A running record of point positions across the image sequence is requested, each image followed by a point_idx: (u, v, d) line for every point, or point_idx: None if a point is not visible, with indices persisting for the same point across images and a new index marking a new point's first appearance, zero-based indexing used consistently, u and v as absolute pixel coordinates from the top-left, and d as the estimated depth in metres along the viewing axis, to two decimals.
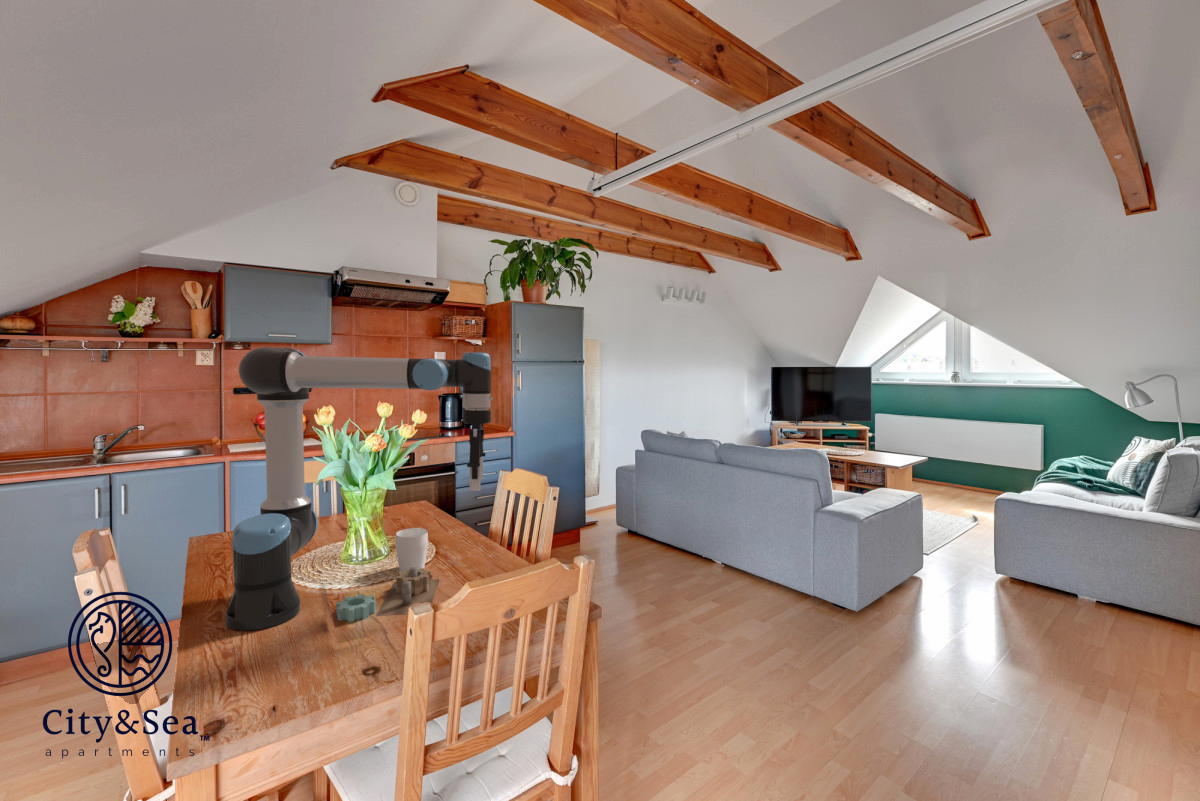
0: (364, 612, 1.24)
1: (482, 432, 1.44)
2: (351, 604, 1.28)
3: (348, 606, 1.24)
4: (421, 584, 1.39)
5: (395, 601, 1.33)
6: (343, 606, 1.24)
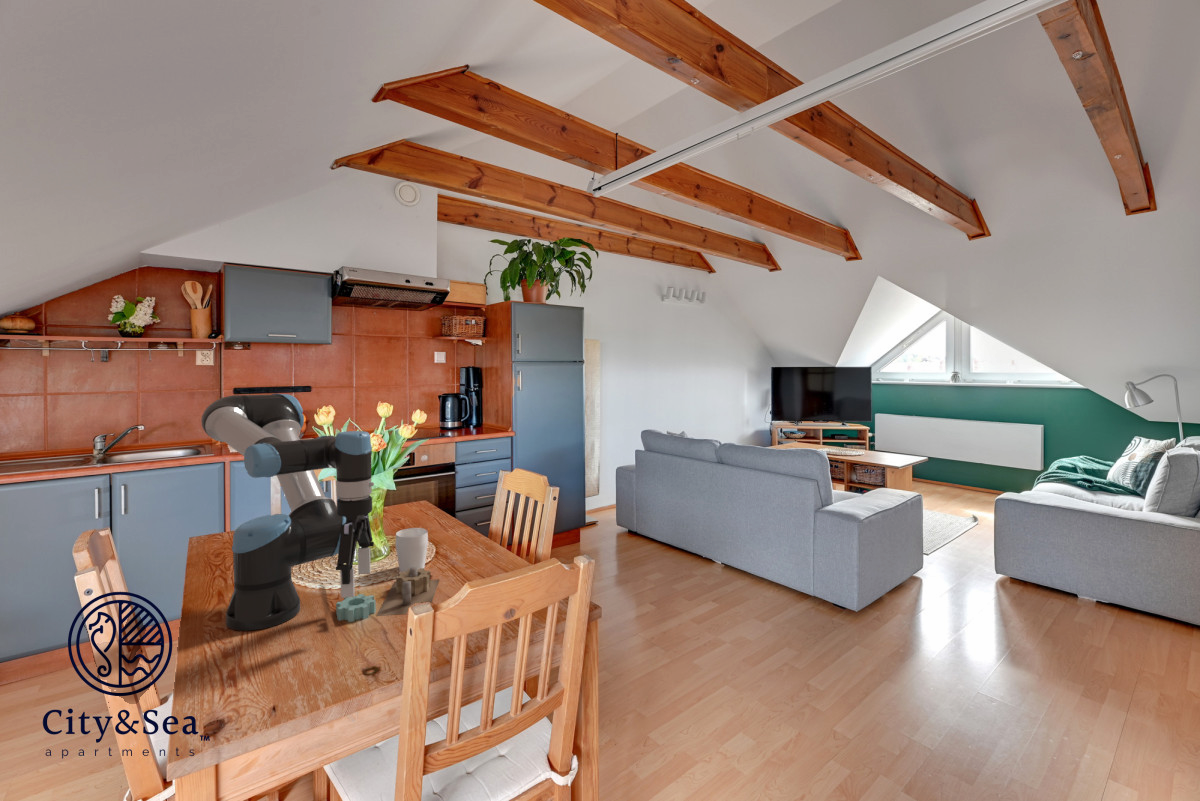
0: (364, 612, 1.24)
1: (360, 525, 1.23)
2: (351, 604, 1.28)
3: (348, 606, 1.24)
4: (421, 584, 1.39)
5: (395, 601, 1.33)
6: (343, 606, 1.24)
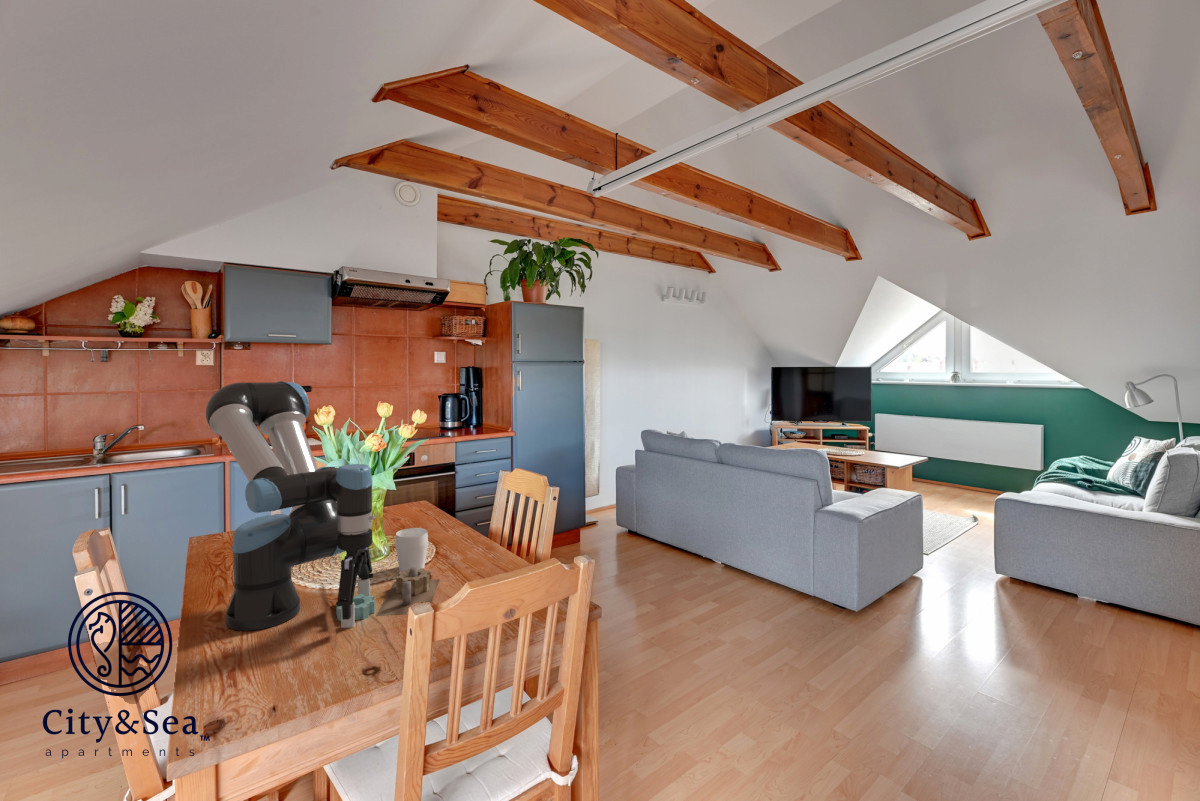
0: (364, 612, 1.24)
1: (360, 558, 1.24)
2: None
3: None
4: (421, 584, 1.39)
5: (395, 601, 1.33)
6: None
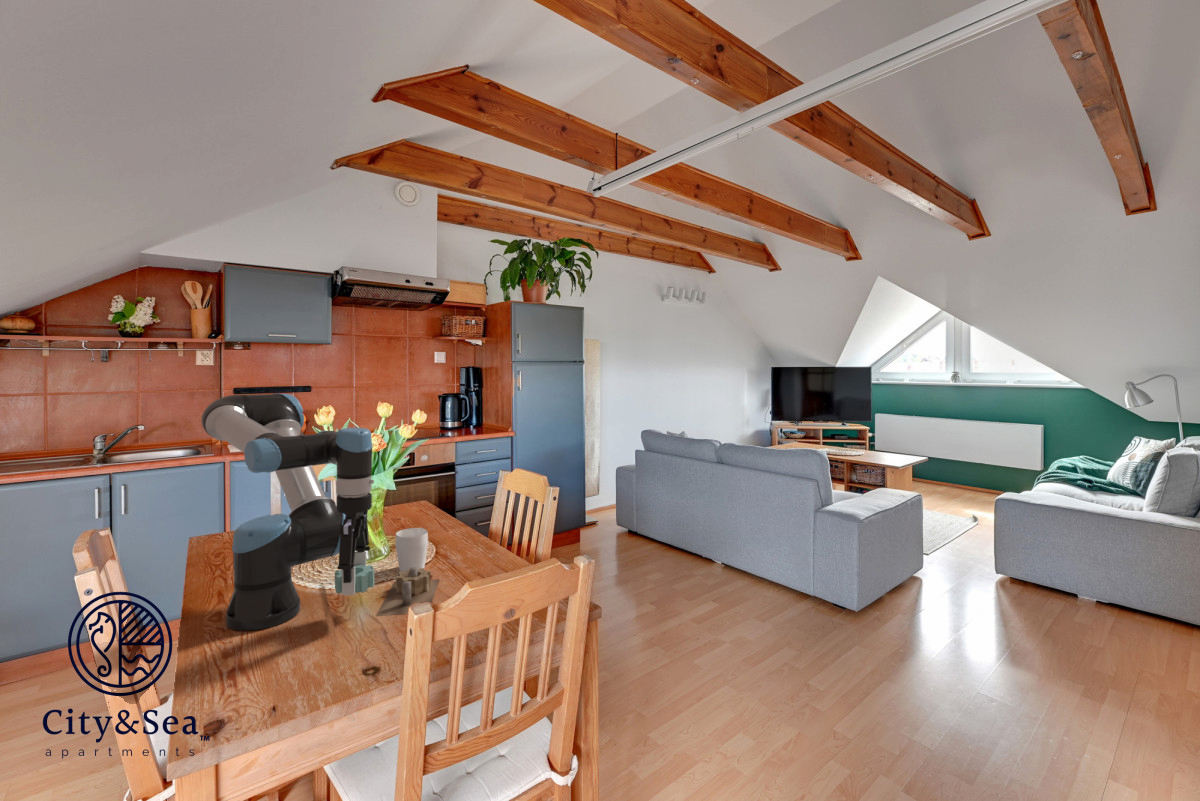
0: (363, 581, 1.24)
1: (359, 522, 1.24)
2: None
3: None
4: (421, 584, 1.39)
5: (395, 601, 1.33)
6: None
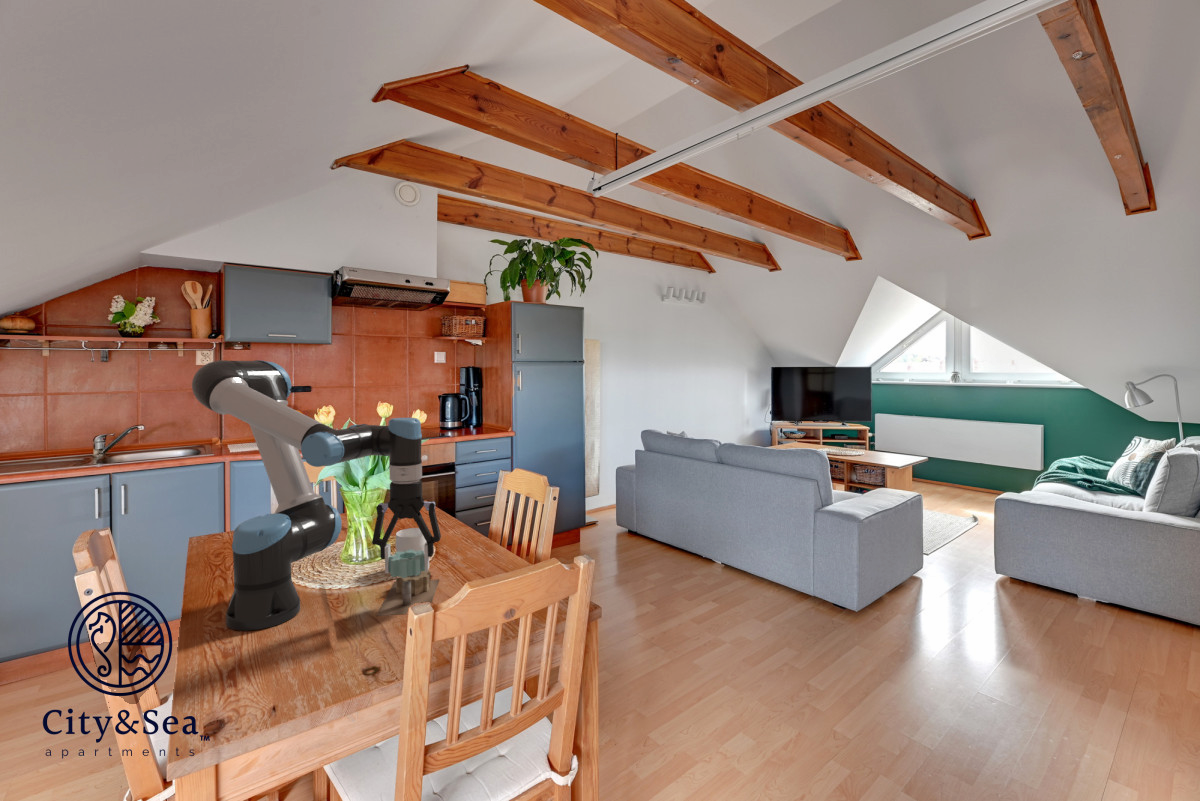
0: (391, 565, 1.28)
1: (396, 508, 1.28)
2: None
3: (398, 554, 1.32)
4: (421, 584, 1.39)
5: (395, 601, 1.33)
6: (400, 552, 1.33)
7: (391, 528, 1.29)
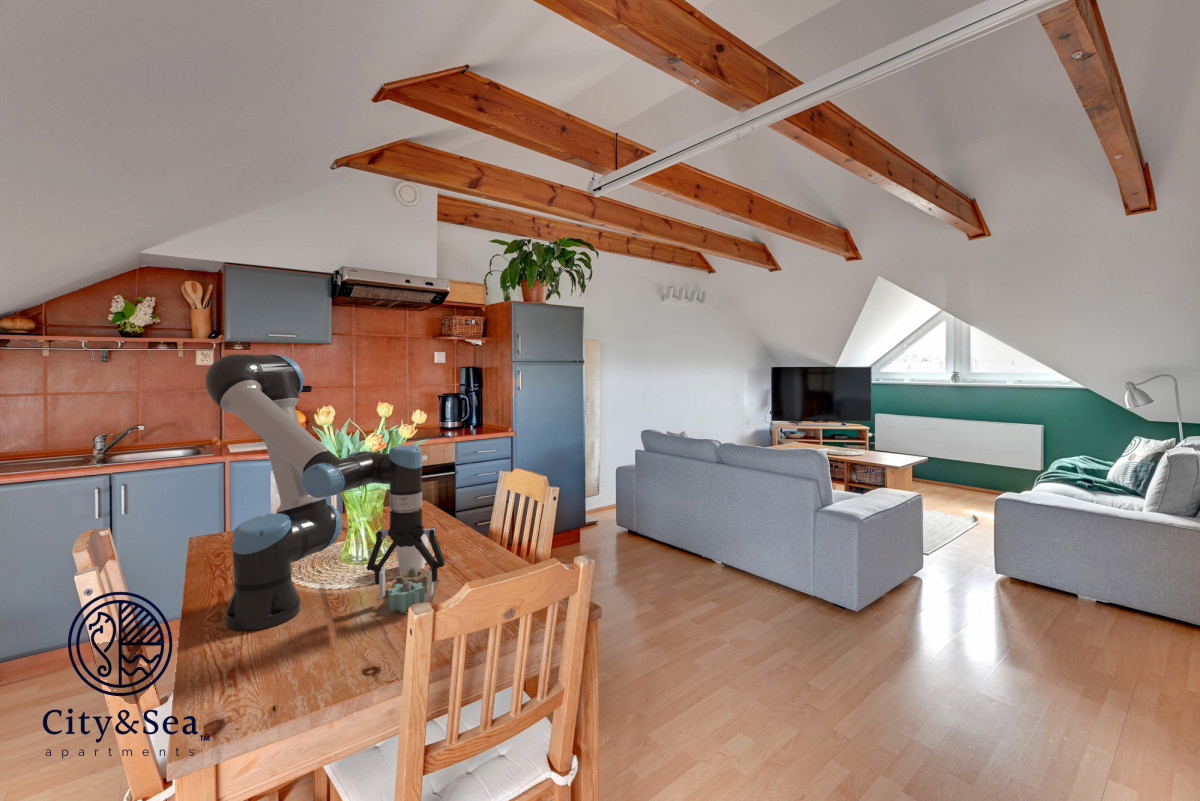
0: (390, 598, 1.28)
1: (396, 536, 1.29)
2: None
3: (397, 587, 1.32)
4: None
5: None
6: (399, 585, 1.33)
7: (388, 555, 1.29)
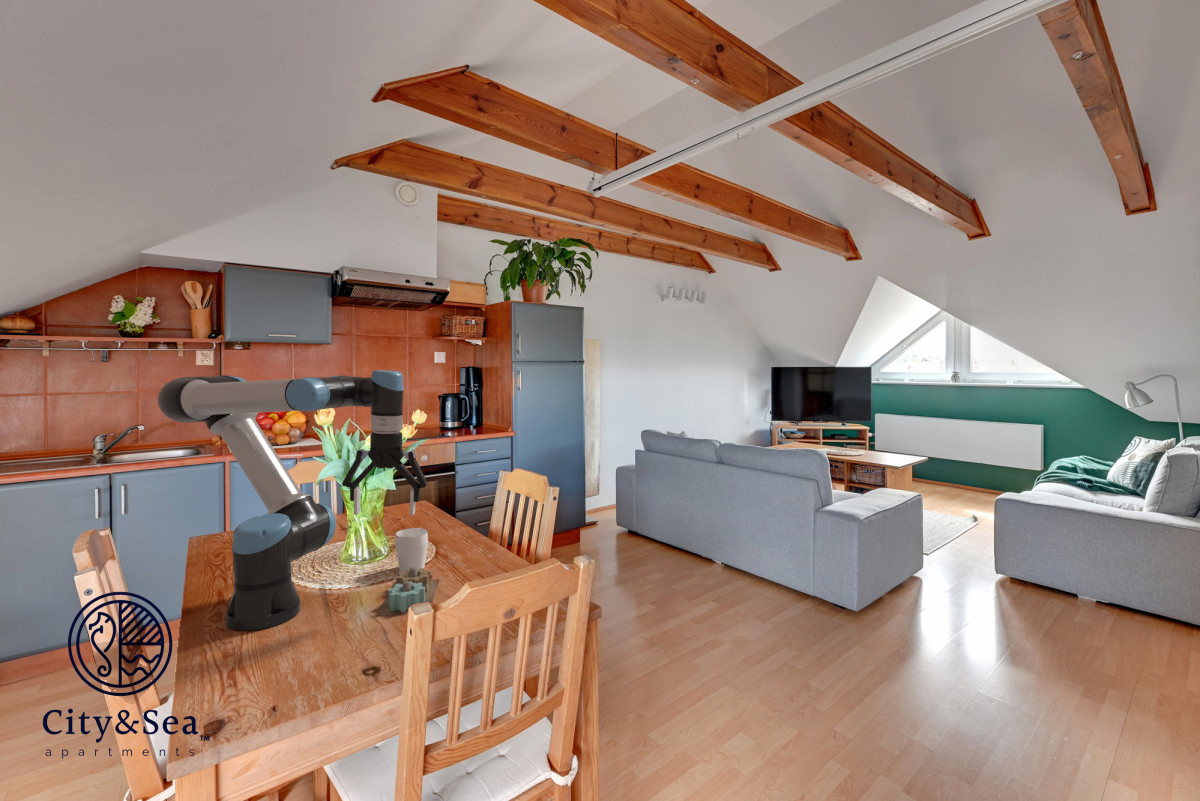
0: (390, 598, 1.28)
1: (376, 457, 1.32)
2: None
3: (397, 587, 1.32)
4: None
5: None
6: (399, 585, 1.33)
7: (365, 474, 1.32)
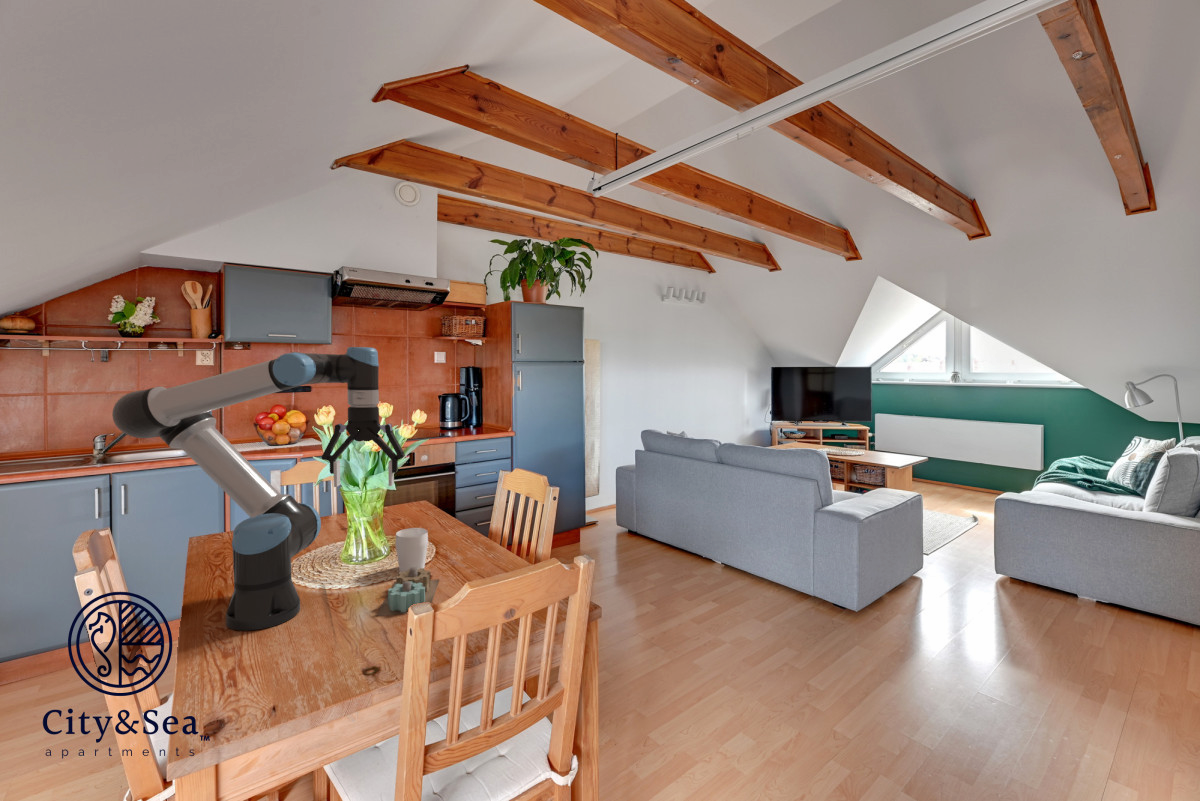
0: (390, 598, 1.28)
1: (354, 430, 1.37)
2: None
3: (397, 587, 1.32)
4: None
5: None
6: (399, 585, 1.33)
7: (344, 447, 1.38)
